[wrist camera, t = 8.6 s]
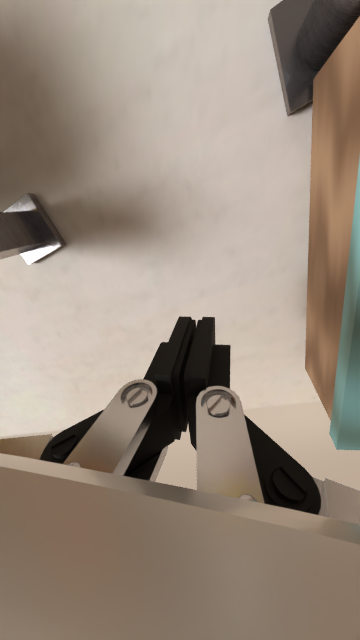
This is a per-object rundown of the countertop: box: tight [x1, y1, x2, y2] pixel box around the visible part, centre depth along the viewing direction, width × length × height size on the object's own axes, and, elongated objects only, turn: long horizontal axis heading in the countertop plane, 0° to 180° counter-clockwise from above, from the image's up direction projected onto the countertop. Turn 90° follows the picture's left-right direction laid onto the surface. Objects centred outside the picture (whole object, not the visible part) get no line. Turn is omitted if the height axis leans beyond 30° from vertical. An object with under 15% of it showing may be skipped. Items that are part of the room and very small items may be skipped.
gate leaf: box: [305, 16, 360, 450], centre depth 11 cm, size 18×2×7 cm, turn 13°
